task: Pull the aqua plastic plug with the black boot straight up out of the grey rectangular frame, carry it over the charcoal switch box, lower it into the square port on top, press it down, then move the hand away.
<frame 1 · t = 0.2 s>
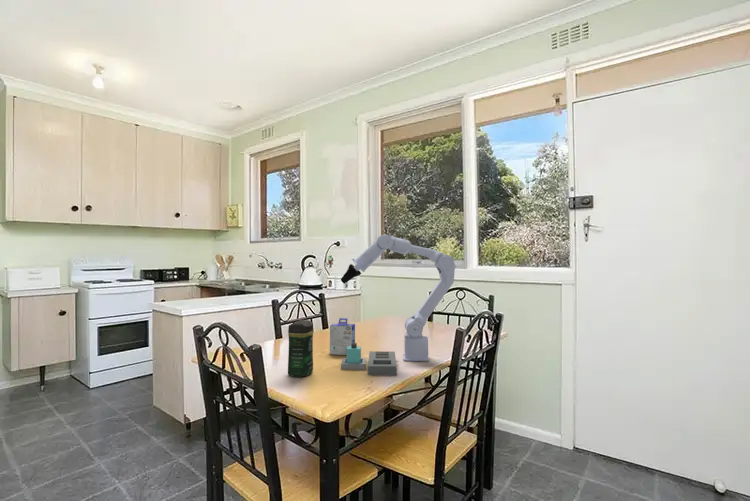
hand: (343, 281, 160), 31 cm above the table, tool tilted 45°, fingers open, 7 cm apart
coffee jar: (300, 374, 141), on the table
plug: (354, 355, 150), in the grey rectangular frame
grey rectangular frame: (354, 366, 150), on the table
switch box: (382, 366, 149), on the table
ink cartridge box: (342, 354, 168), on the table
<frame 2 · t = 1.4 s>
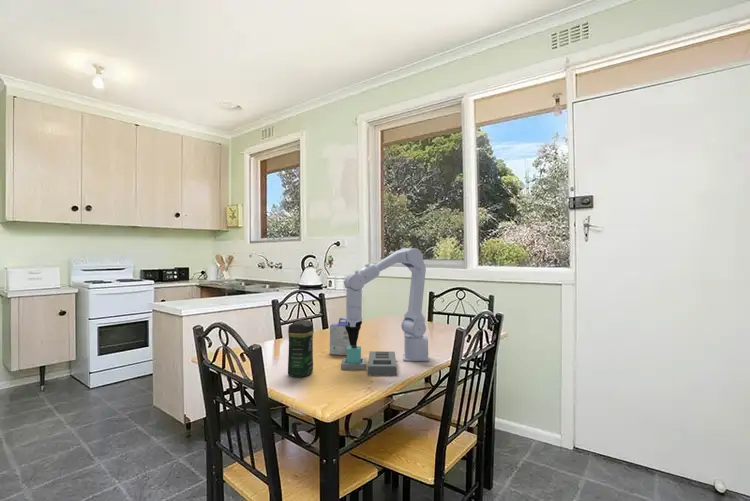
hand: (353, 342, 150), 9 cm above the table, tool pointing down, fingers open, 7 cm apart
nothing on the table moved.
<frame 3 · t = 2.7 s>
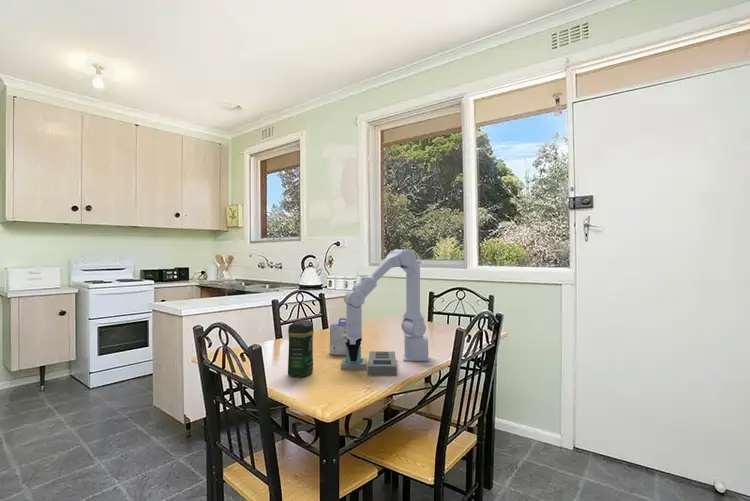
hand: (353, 359, 150), 3 cm above the table, tool pointing down, fingers closed on plug, 4 cm apart
plug: (353, 354, 150), in the grey rectangular frame, touching gripper
everything else where it was.
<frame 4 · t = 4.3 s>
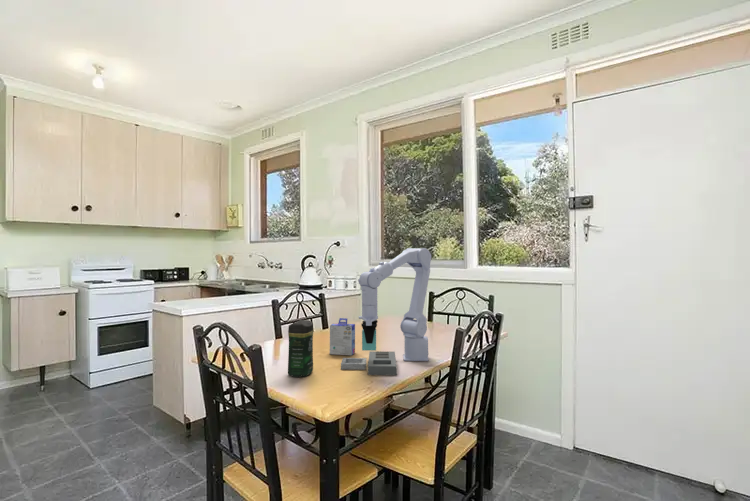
hand: (369, 341, 147), 10 cm above the table, tool pointing down, fingers closed on plug, 4 cm apart
plug: (369, 337, 147), point 11 cm above the table, touching gripper
everything else where it was.
when the fingers open (4 cm above the table, at t = 6.2 s): plug stays where it is, resting in switch box.
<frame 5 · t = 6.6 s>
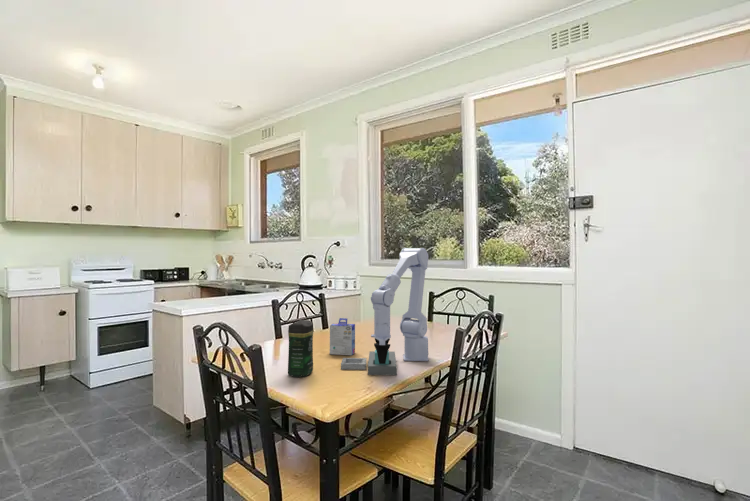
hand: (382, 360, 144), 4 cm above the table, tool pointing down, fingers open, 7 cm apart
plug: (381, 358, 144), in the switch box
everything else where it was.
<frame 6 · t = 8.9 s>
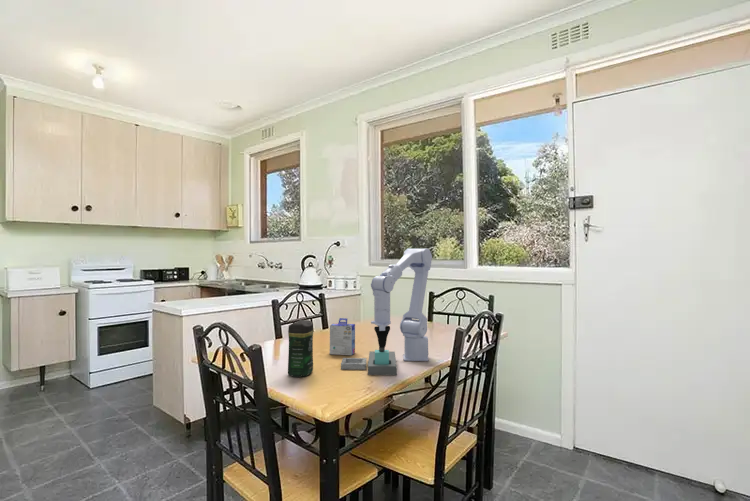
hand: (382, 346, 144), 9 cm above the table, tool pointing down, fingers closed
nothing on the table moved.
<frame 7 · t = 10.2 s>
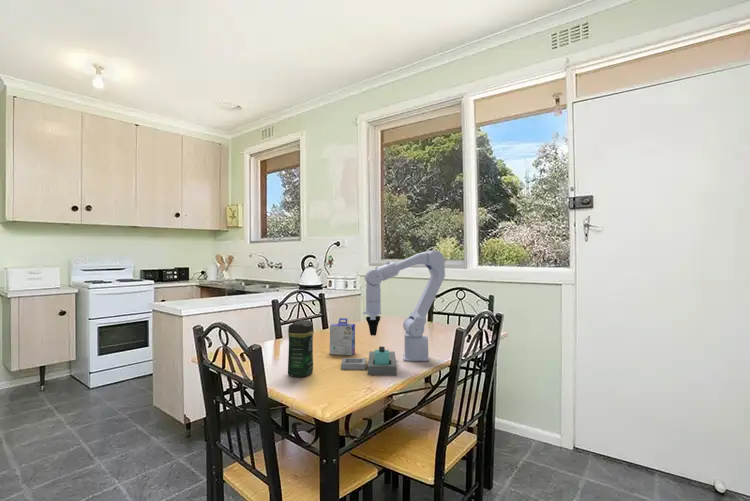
hand: (373, 335, 157), 10 cm above the table, tool pointing down, fingers closed
nothing on the table moved.
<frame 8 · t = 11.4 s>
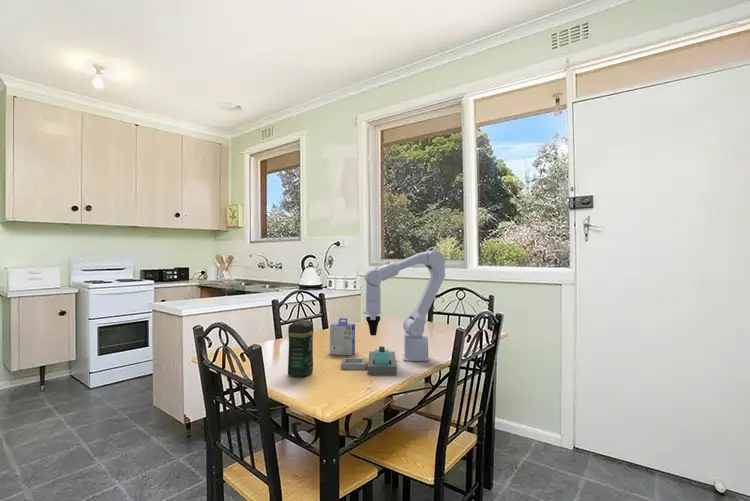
hand: (373, 335, 157), 10 cm above the table, tool pointing down, fingers closed
nothing on the table moved.
at the end: plug 0.1 cm from the target spot on the switch box, point 4.2 cm above the switch box's base; plug tilted 0°; the gripper is holding nothing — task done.
